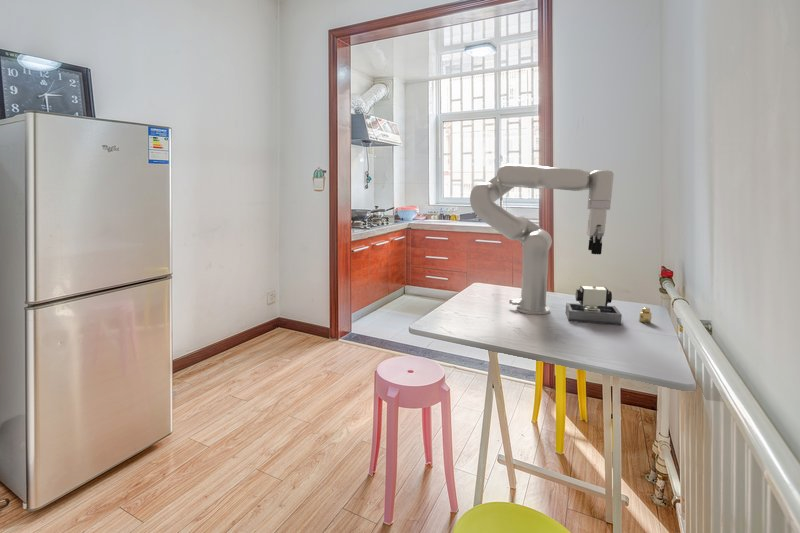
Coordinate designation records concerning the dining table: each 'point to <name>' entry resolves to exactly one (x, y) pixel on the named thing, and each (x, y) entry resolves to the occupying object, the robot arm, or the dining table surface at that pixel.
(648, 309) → the brass fitting
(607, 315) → the gray rectangular tray
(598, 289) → the pneumatic valve
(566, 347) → the dining table surface
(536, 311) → the robot arm
